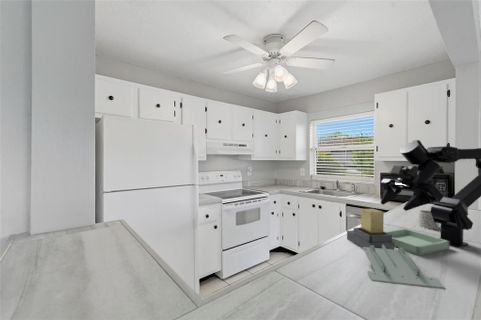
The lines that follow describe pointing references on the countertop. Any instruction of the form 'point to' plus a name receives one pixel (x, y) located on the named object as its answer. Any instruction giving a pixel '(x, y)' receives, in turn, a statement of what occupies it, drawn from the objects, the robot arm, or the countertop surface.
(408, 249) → the parts tray
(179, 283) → the countertop surface
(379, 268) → the metal bracket
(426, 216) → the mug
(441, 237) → the robot arm
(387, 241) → the dark grey stepped fixture
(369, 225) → the tan note paper block
